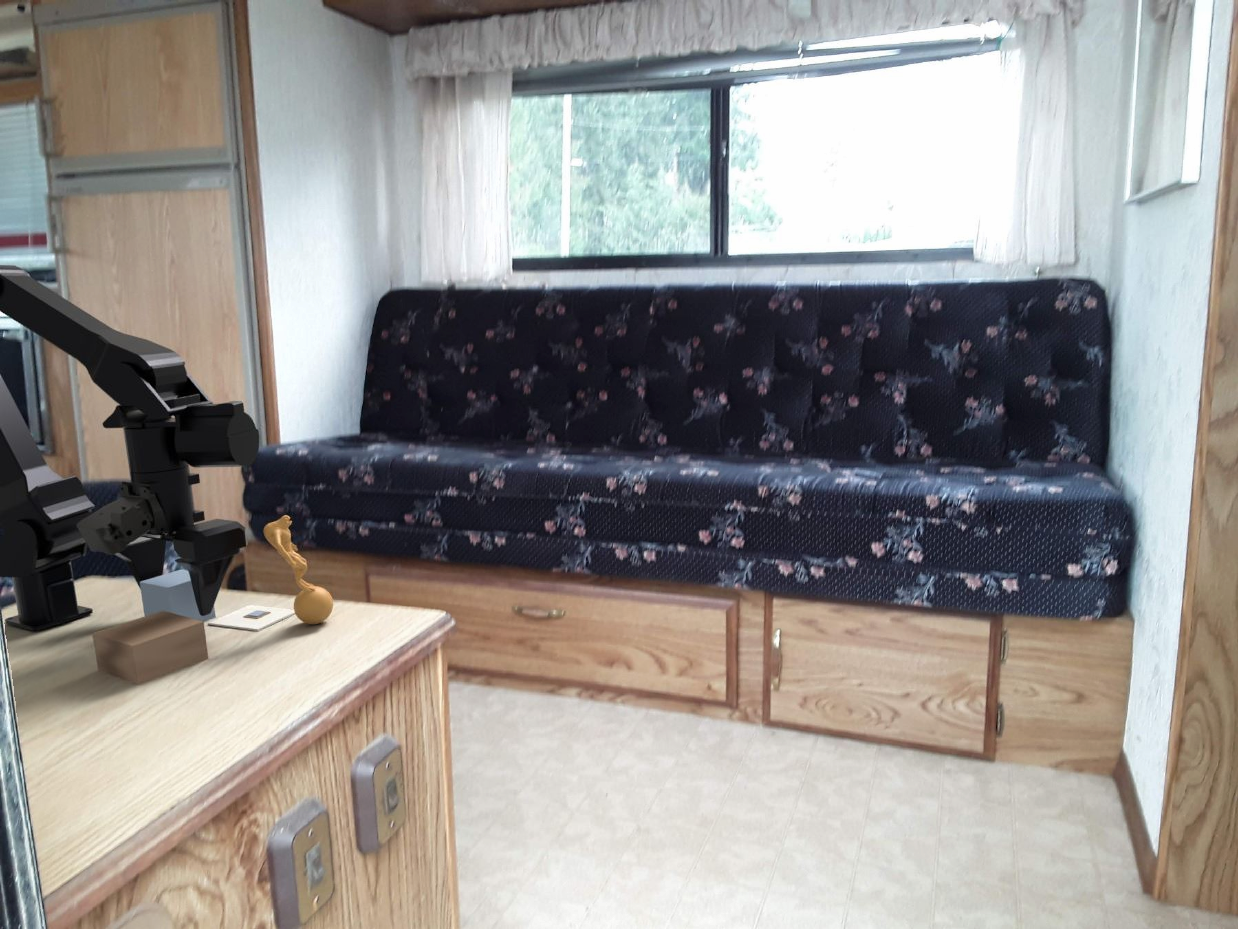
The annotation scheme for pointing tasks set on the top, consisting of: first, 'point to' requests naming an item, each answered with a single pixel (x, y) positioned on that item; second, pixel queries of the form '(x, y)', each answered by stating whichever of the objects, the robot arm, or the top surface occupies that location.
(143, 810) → the top surface
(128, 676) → the base brick
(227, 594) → the top surface
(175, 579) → the blue brick
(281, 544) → the figurine
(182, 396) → the robot arm
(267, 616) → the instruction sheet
